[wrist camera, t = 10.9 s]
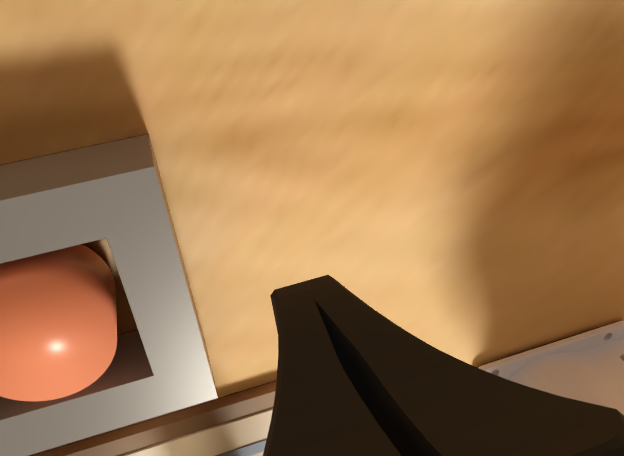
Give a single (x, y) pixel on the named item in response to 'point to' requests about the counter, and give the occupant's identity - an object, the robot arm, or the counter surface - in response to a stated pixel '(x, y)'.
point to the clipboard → (190, 430)
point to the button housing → (135, 278)
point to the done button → (55, 323)
